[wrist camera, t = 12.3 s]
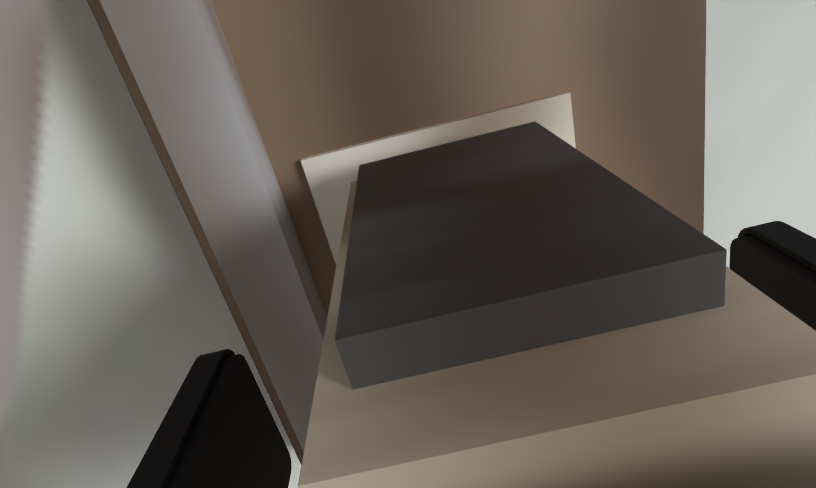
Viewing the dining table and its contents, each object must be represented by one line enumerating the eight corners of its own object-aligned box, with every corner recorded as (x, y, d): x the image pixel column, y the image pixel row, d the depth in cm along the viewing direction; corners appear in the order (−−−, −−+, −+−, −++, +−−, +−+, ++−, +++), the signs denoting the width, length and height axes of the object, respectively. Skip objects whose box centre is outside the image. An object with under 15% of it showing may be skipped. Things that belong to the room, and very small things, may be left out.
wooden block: (412, 385, 14) (448, 802, 6) (343, 157, 11) (272, 431, 4) (570, 350, 13) (792, 740, 6) (540, 107, 11) (874, 296, 3)
